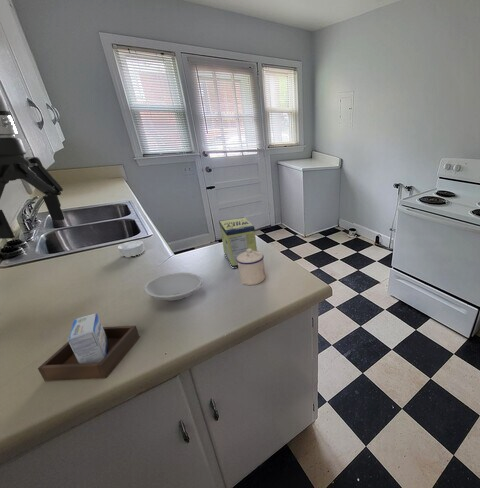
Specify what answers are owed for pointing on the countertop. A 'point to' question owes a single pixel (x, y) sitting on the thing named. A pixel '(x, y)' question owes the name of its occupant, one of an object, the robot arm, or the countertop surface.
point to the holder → (68, 367)
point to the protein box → (237, 238)
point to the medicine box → (88, 339)
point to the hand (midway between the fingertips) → (35, 228)
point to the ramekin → (131, 248)
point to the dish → (173, 286)
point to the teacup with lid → (251, 267)
